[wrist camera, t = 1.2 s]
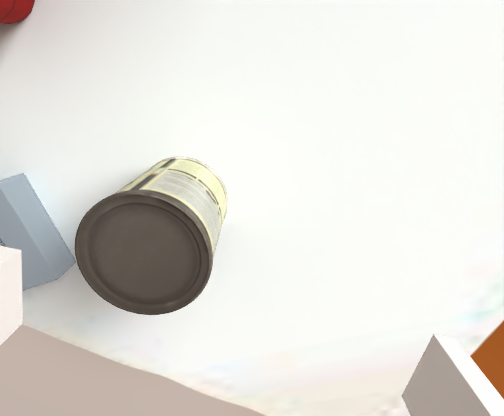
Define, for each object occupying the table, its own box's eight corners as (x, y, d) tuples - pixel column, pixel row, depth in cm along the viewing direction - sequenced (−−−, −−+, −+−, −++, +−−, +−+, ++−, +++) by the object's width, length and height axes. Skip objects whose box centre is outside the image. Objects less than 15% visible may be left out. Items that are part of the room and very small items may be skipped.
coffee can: (208, 254, 40) (182, 334, 27) (127, 219, 39) (58, 285, 25) (243, 179, 37) (234, 228, 24) (157, 140, 36) (96, 167, 22)
